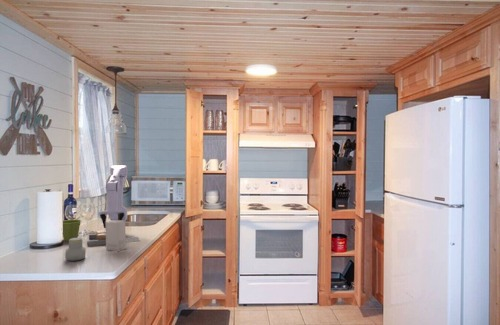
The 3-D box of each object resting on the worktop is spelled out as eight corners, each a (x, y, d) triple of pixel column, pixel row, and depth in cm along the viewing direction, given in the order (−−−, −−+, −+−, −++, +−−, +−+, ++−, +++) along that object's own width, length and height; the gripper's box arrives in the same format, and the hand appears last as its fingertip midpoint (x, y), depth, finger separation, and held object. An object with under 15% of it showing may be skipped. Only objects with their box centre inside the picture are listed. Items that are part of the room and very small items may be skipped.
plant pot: (74, 237, 225) (74, 218, 225) (85, 239, 218) (85, 221, 218) (55, 240, 215) (55, 221, 215) (65, 243, 209) (65, 223, 208)
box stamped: (97, 242, 210) (97, 233, 210) (105, 242, 212) (105, 233, 212) (97, 244, 206) (97, 235, 206) (105, 243, 208) (106, 234, 208)
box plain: (96, 239, 217) (96, 231, 217) (104, 238, 219) (104, 230, 219) (97, 241, 213) (97, 232, 213) (106, 240, 216) (106, 231, 215)
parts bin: (87, 240, 218) (87, 234, 218) (113, 238, 223) (113, 233, 223) (87, 247, 202) (87, 241, 202) (115, 244, 207) (115, 239, 207)
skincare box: (126, 249, 199) (126, 220, 198) (117, 252, 192) (118, 222, 192) (113, 247, 201) (113, 219, 201) (104, 250, 195) (105, 221, 195)
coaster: (118, 239, 222) (118, 238, 222) (137, 237, 226) (137, 236, 226) (120, 243, 212) (120, 242, 212) (140, 241, 216) (140, 240, 216)
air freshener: (84, 261, 175) (84, 240, 174) (64, 263, 172) (64, 242, 171) (85, 255, 185) (85, 236, 185) (67, 257, 182) (67, 237, 182)
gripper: (100, 204, 200) (99, 229, 200) (127, 203, 208) (126, 227, 208) (97, 203, 206) (97, 227, 206) (124, 202, 214) (123, 225, 214)
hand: (111, 227), depth 207 cm, fingers open, 7 cm apart
